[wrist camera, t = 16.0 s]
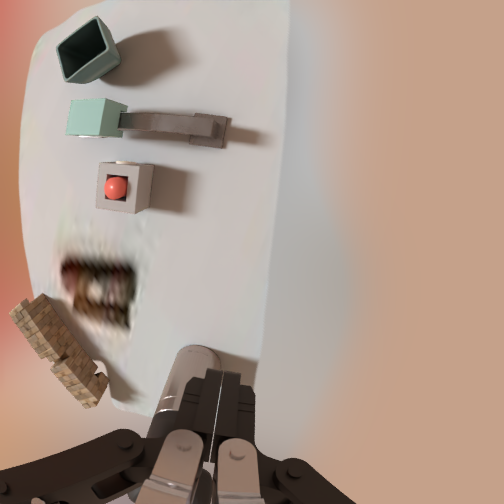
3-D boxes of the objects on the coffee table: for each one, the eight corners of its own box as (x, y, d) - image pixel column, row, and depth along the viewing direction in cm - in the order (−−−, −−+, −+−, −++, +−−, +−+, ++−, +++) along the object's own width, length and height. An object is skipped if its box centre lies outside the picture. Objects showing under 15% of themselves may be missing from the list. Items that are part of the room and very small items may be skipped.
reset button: (133, 196, 42) (121, 200, 37) (116, 194, 41) (103, 198, 37) (135, 176, 41) (123, 178, 36) (118, 174, 40) (105, 176, 36)
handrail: (221, 148, 42) (215, 146, 36) (81, 137, 41) (61, 136, 35) (227, 117, 40) (222, 110, 34) (85, 110, 39) (66, 106, 33)
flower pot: (120, 32, 35) (96, 14, 26) (133, 64, 37) (109, 49, 28) (81, 58, 36) (54, 46, 27) (93, 92, 38) (64, 83, 30)
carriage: (122, 137, 37) (98, 135, 30) (90, 136, 37) (65, 135, 30) (127, 106, 35) (105, 98, 29) (96, 106, 35) (71, 100, 29)
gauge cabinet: (149, 207, 45) (134, 214, 39) (113, 201, 44) (95, 208, 39) (154, 163, 42) (139, 164, 37) (117, 159, 42) (99, 160, 36)
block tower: (115, 381, 59) (40, 286, 50) (103, 405, 51) (18, 303, 42) (97, 387, 60) (26, 298, 52) (85, 409, 52) (6, 315, 44)
